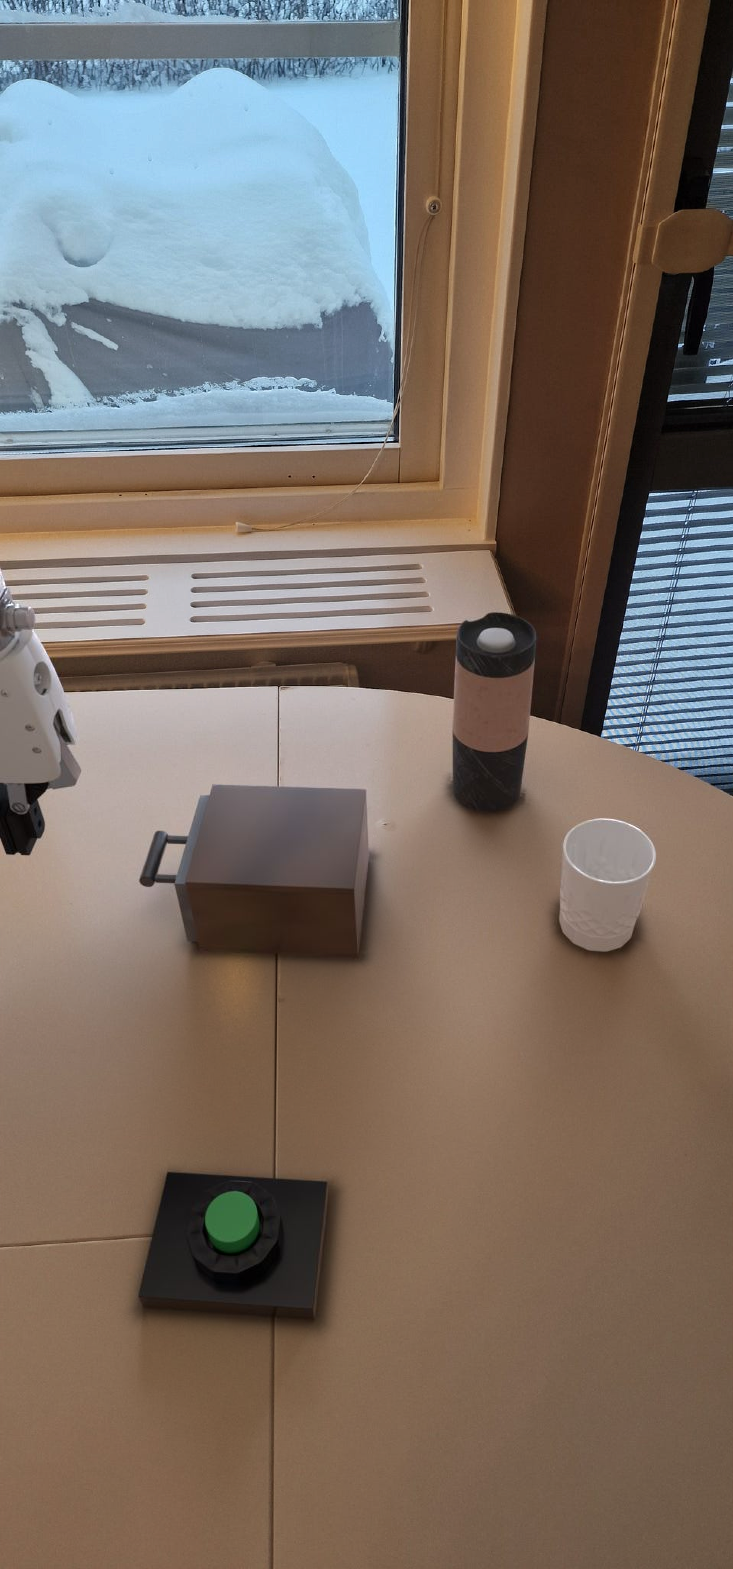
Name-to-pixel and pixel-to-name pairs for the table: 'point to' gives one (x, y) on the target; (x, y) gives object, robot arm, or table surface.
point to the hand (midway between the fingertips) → (25, 840)
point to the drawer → (155, 858)
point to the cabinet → (280, 871)
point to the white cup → (603, 882)
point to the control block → (244, 1282)
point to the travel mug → (491, 709)
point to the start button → (232, 1222)
